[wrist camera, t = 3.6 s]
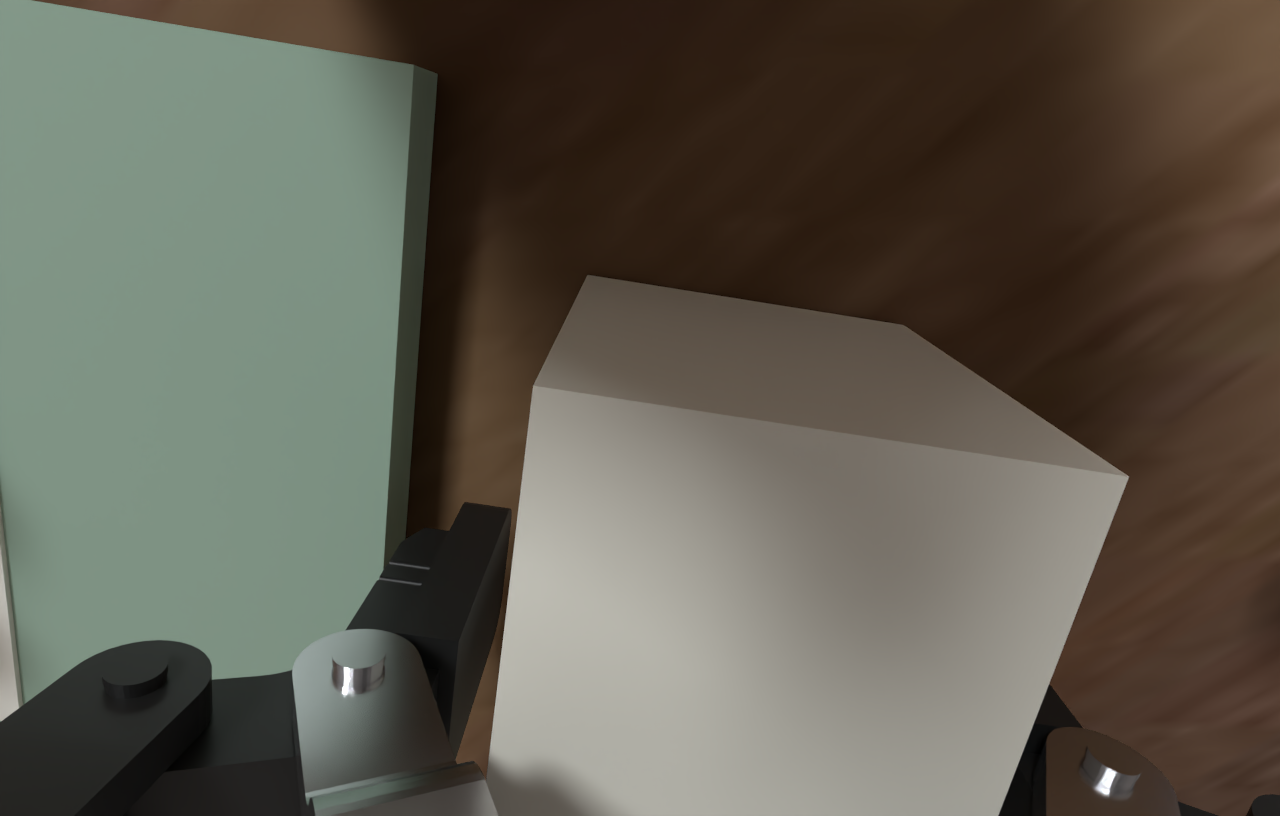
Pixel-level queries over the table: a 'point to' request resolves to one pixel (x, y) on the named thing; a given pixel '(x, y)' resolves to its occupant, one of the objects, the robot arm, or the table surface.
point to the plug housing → (780, 568)
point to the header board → (200, 337)
